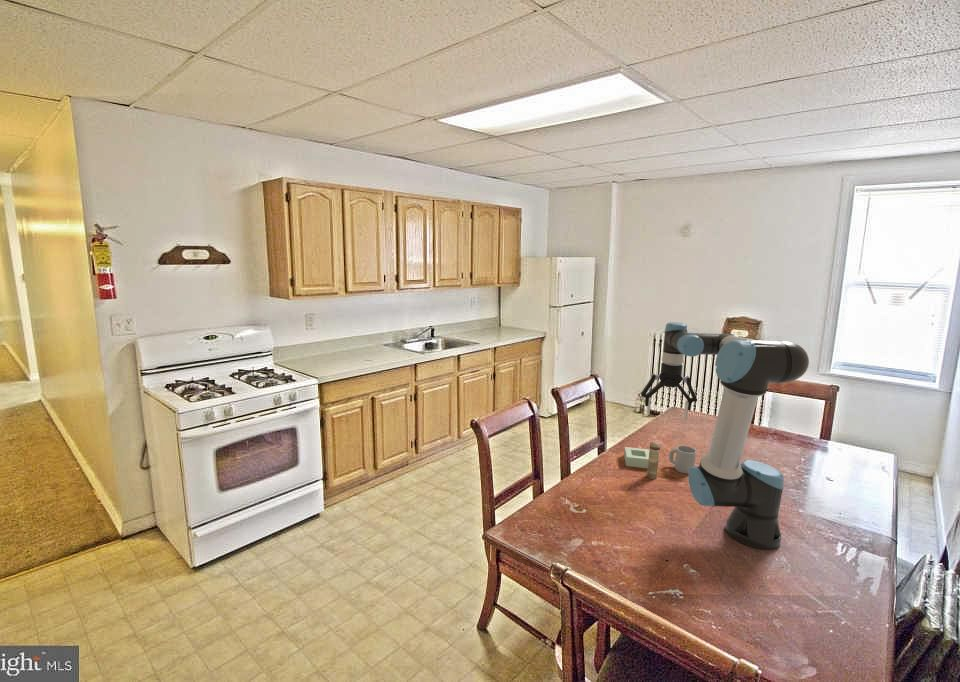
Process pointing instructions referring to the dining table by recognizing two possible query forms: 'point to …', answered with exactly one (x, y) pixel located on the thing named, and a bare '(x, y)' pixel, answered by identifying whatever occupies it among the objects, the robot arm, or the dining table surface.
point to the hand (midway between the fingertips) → (666, 416)
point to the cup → (683, 458)
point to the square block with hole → (636, 457)
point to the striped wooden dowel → (653, 460)
